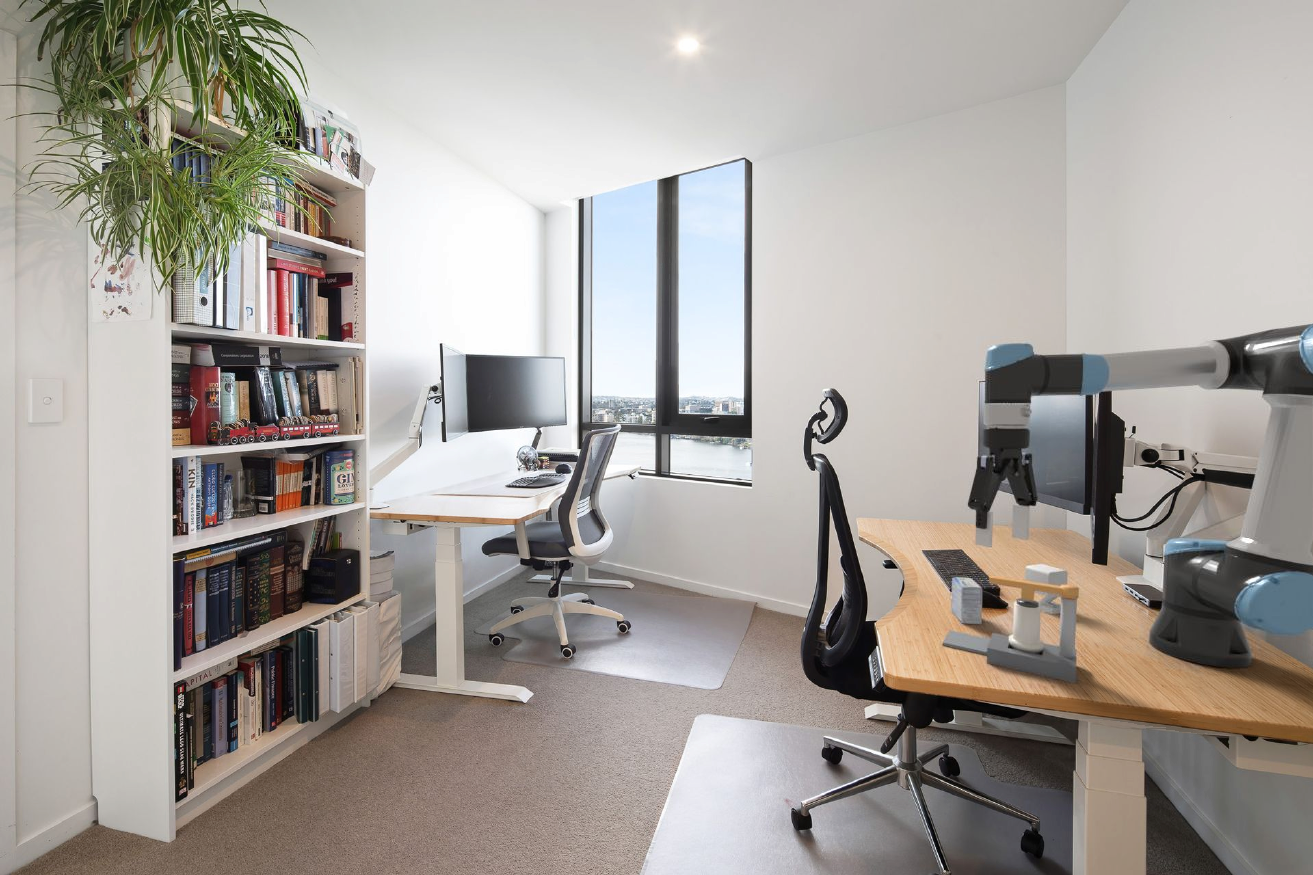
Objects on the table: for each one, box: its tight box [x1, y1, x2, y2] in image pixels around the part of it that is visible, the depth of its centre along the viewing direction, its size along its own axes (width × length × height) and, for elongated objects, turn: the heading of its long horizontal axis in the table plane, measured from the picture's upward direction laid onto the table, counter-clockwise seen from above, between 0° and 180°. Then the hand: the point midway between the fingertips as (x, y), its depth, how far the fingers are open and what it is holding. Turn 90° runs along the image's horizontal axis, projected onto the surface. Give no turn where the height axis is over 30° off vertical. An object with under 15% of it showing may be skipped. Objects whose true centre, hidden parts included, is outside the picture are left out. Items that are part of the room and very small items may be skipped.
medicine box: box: [950, 576, 983, 626], centre depth 135 cm, size 8×4×9 cm, turn 168°
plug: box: [1008, 597, 1044, 655], centre depth 112 cm, size 6×6×12 cm
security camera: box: [1024, 563, 1069, 615], centre depth 142 cm, size 6×7×10 cm
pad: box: [942, 630, 991, 656], centre depth 121 cm, size 8×8×1 cm
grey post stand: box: [986, 596, 1078, 684], centre depth 111 cm, size 14×9×14 cm, turn 54°
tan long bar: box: [988, 575, 1080, 601], centre depth 112 cm, size 14×3×4 cm, turn 54°
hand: (1002, 542), depth 110 cm, fingers open, 11 cm apart
